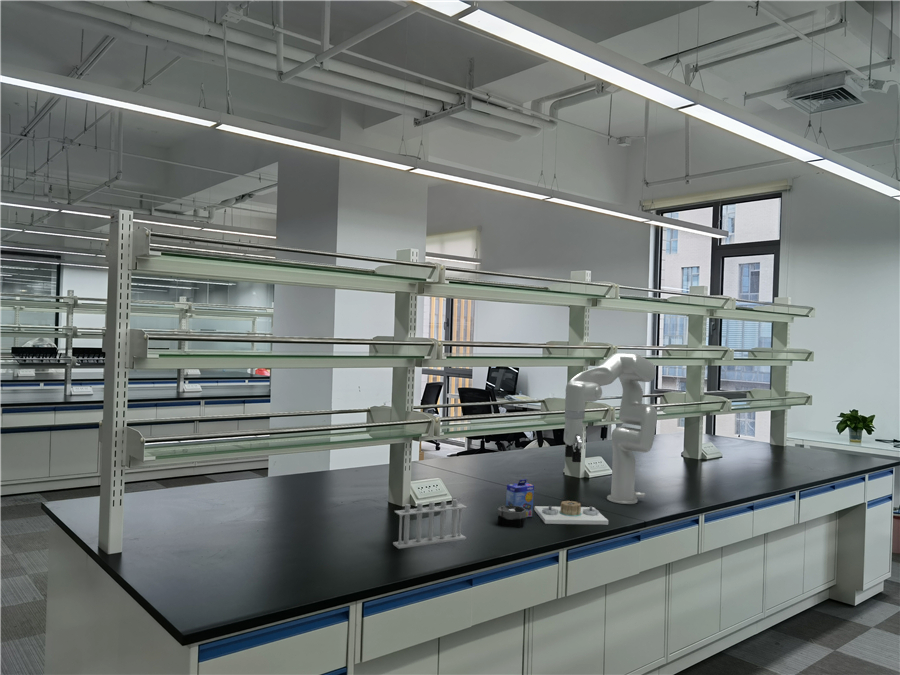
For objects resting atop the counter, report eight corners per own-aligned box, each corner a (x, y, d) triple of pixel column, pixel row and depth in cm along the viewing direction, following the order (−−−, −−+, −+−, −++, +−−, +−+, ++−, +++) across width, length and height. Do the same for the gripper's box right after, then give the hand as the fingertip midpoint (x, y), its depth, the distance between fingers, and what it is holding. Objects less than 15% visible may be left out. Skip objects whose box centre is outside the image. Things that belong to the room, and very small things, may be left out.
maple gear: (577, 510, 254) (577, 500, 254) (582, 515, 247) (583, 506, 247) (558, 509, 254) (558, 500, 254) (563, 515, 246) (563, 505, 246)
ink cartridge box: (513, 520, 243) (515, 481, 243) (504, 516, 248) (506, 478, 248) (533, 516, 249) (535, 478, 249) (524, 512, 254) (525, 475, 253)
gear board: (593, 511, 260) (594, 498, 260) (608, 524, 242) (608, 510, 242) (534, 510, 258) (535, 497, 258) (545, 523, 240) (545, 509, 240)
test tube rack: (398, 549, 206) (400, 507, 206) (392, 544, 210) (394, 504, 210) (466, 539, 219) (467, 500, 218) (459, 535, 222) (461, 497, 222)
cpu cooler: (527, 506, 243) (524, 513, 233) (526, 521, 243) (524, 529, 233) (499, 503, 245) (496, 510, 235) (499, 518, 245) (495, 526, 235)
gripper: (559, 411, 258) (557, 454, 258) (571, 418, 241) (569, 464, 241) (577, 412, 259) (575, 455, 259) (591, 418, 242) (589, 464, 242)
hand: (572, 459), depth 250 cm, fingers open, 9 cm apart
